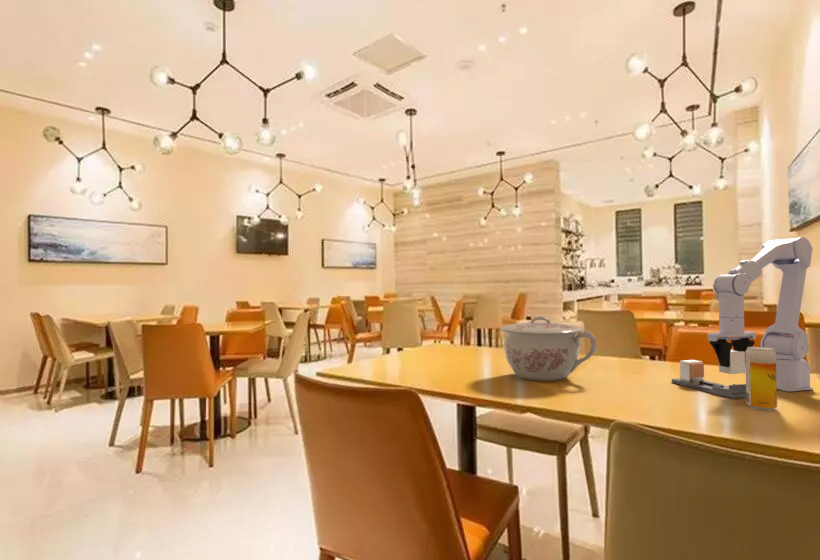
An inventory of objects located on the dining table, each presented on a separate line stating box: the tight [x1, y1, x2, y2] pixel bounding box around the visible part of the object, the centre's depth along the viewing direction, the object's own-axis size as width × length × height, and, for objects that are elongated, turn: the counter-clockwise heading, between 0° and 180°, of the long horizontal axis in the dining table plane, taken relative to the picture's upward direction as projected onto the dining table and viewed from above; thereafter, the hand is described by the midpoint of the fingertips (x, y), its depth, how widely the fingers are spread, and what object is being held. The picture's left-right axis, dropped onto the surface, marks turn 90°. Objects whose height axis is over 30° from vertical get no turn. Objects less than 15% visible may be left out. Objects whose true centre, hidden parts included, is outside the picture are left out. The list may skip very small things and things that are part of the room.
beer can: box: [745, 346, 778, 412], centre depth 113 cm, size 6×6×15 cm
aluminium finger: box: [717, 349, 746, 375], centre depth 126 cm, size 4×5×6 cm
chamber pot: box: [499, 316, 598, 382], centre depth 153 cm, size 28×28×21 cm
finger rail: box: [671, 359, 746, 400], centre depth 133 cm, size 21×8×7 cm, turn 13°
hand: (732, 365), depth 126 cm, fingers closed on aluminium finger, 5 cm apart
